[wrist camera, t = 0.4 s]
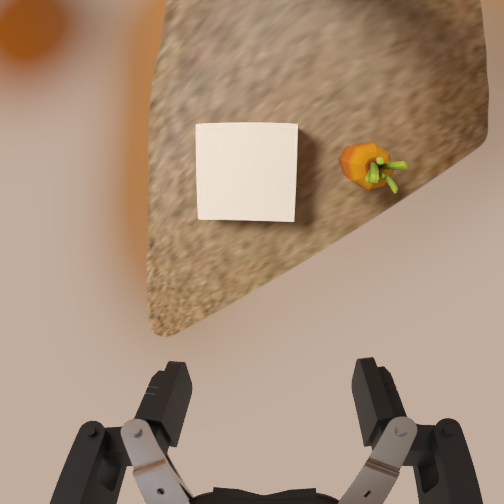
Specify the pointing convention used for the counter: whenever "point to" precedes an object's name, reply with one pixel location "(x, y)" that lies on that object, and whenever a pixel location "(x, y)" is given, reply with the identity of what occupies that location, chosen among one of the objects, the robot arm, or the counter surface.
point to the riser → (246, 171)
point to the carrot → (369, 166)
